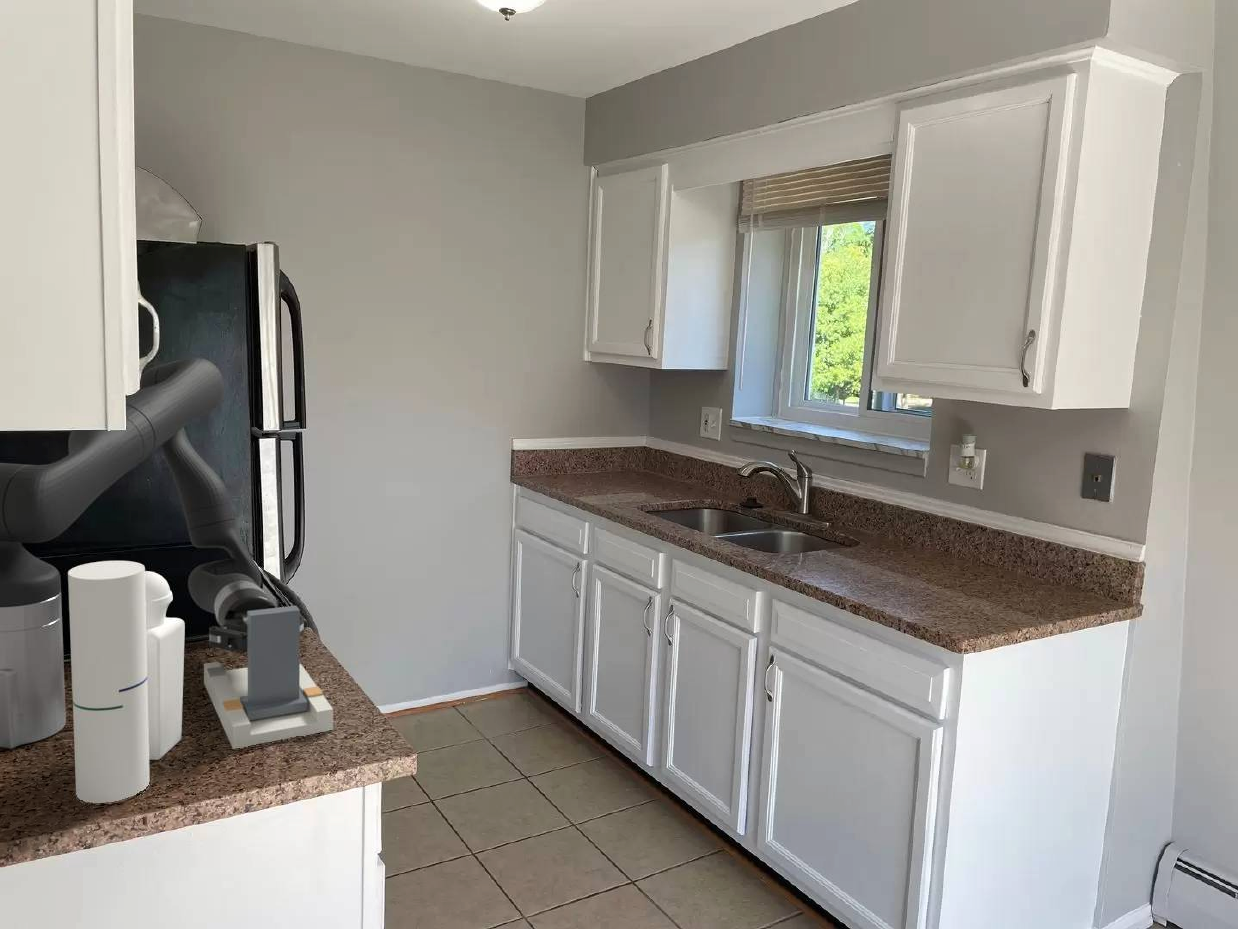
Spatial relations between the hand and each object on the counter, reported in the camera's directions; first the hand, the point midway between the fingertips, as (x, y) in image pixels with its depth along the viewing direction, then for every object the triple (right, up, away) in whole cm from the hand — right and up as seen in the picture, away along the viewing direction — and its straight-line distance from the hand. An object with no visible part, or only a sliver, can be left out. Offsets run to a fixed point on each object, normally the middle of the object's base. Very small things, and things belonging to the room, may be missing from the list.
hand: (271, 652), depth 120 cm
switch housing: (-3, -8, +5) cm, 10 cm away
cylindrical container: (-11, -12, -18) cm, 24 cm away
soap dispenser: (-12, -10, -8) cm, 18 cm away
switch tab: (0, -7, 0) cm, 7 cm away
